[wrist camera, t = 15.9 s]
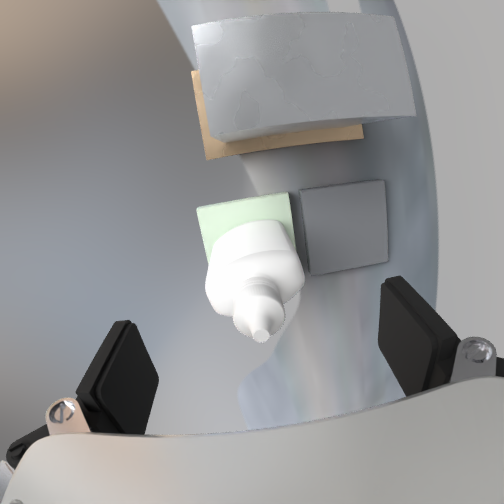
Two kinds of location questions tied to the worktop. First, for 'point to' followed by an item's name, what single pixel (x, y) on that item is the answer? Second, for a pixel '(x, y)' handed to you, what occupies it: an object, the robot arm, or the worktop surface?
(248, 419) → the worktop surface
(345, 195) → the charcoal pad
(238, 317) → the eye dropper bottle
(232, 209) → the sage pad
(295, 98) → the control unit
